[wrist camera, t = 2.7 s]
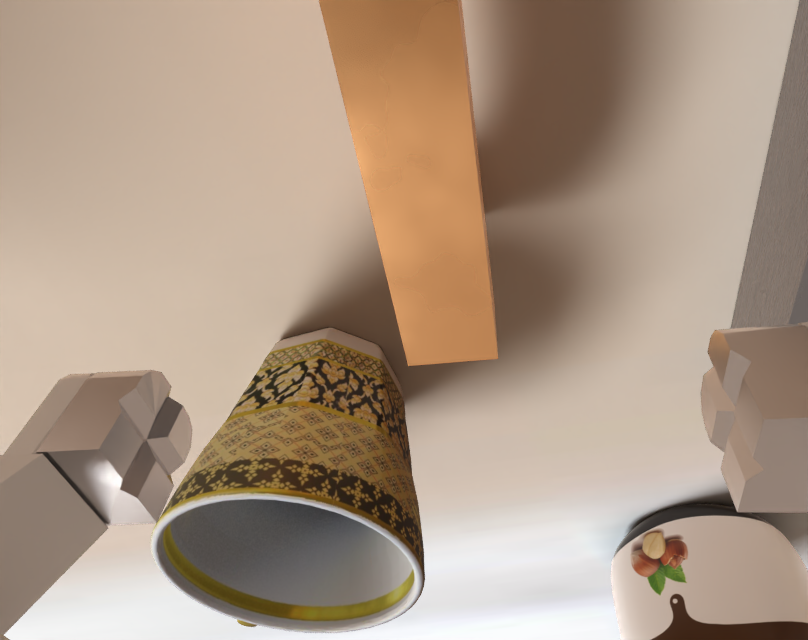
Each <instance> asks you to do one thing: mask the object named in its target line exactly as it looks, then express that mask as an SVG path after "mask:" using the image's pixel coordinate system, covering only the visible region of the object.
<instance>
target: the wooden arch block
mask: <svg viewBox="0 0 808 640" xmlns="http://www.w3.org/2000/svg"><path fill="white" fill-rule="evenodd" d="M319 3H320V7H321V11H322V15H323V19H324V23H325V27H326V31H327V35H328V40H329V44H330V48H331V52H332V56H333V60H334V64H335V68H336V72H337V76H338V80H339V85H340V89H341V93H342V97H343V101H344V105H345V109H346V113H347V117H348V121H349V126H350V130H351V134H352V138H353V142H354V146H355V150H356V154H357V158H358V162H359V167H360V171H361V175H362V179H363V183H364V187H365V191H366V195H367V199H368V203H369V208H370V212H371V216H372V220H373V224H374V228H375V232H376V236H377V240H378V244H379V249H380V253H381V257H382V261H383V265H384V269H385V273H386V277H387V281H388V285H389V290H390V294H391V298H392V302H393V306H394V310H395V314H396V318H397V322H398V326H399V331H400V335H401V339H402V343H403V347H404V351H405V355H406V359H407V363H408V366H415V365H427V364H440V363H452V362H464V361H477V360H489V359H498V349H497V335H496V320H495V306H494V294H493V285H492V276H491V266H490V257H489V248H488V239H487V230H486V221H485V212H484V202H483V193H482V184H481V175H480V166H479V157H478V148H477V138H476V129H475V120H474V111H473V102H472V93H471V84H470V74H469V65H468V56H467V47H466V38H465V29H464V20H463V10H462V1H461V0H319Z"/></svg>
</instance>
